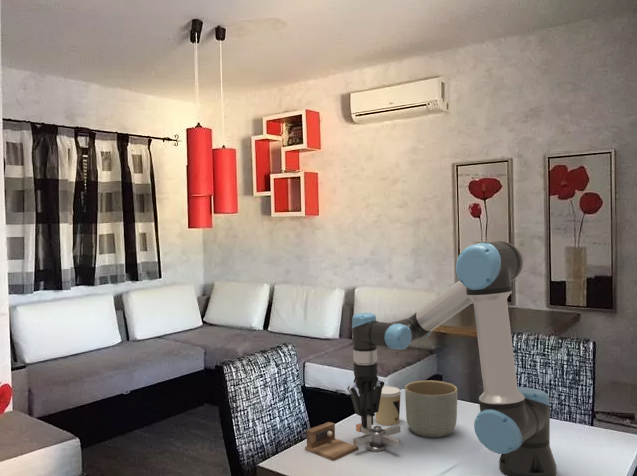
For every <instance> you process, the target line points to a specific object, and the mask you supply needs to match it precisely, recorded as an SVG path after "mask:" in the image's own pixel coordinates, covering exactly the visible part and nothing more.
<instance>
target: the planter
mask: <svg viewBox="0 0 637 476" xmlns="http://www.w3.org/2000/svg"><path fill="white" fill-rule="evenodd" d="M404 396H405V398H404V399H405V416H406V423H407V425H408V428H409V429H410V431H412V433H414V434H416V435H417V436H421V437H423V438H442V437H446V436H447V437H448V436H449V435H450V434H452V433H453V432H454V430H455V428H456V425H457V421H458V420H457V419H458V387H457V386H456V385H454V384H453V383H450V382H445V381H441V380H432V379H431V380H427V379H426V380H417V381H412V382H409V383H407V384H406V385H405V386H404Z"/></svg>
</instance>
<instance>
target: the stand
mask: <svg viewBox="0 0 637 476" xmlns="http://www.w3.org/2000/svg"><path fill="white" fill-rule="evenodd" d="M335 429H336V423H335V422H332V421H331V422H330V421H327V422H325V423H323V424H319V425H317V426H313V427H311V428H309V429H306V432H305V433H306V446H305V447H304V450H305V452H308V453H309V452H310V453H312V454H315V455H318V456H319V457H322V458H325V459H327V460H329V461H333V462H334V461H335V462H336V461H337V460H339V459H342V458H343V457H346V456H348V455H351V454H353V453H356V452H357V451H359V445H358V446H355V445H353V443H349V442H347V441H344V440H341V439H338V438H336V430H335Z"/></svg>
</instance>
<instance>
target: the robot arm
mask: <svg viewBox="0 0 637 476" xmlns="http://www.w3.org/2000/svg"><path fill="white" fill-rule="evenodd" d="M455 263H456V264H455V272H456V276H457V279H458V281H456V282H455V283H454V284H452V285H451V286H450V287H448V288H447V289H445V290H444V291H443V292H441V293H440V294H439V295H437V296H436V297H435V298H434V299H432V300H431V301H430V302H428V303H427V304H426V305H424V306H423V307H421V308H420V309H419V310H417V312H414V313H413V314H411V316H409V317H407V318H403V319H400V320H395V321H391V322H384V321H378V320H377V318H376V317H377V316H376V314H374V313H372V312H359V313H355V314H353V316H352V320H351V323H352V325H351V332H352V346H353V347H352V350H353V353H352V356H353V357H352V358H353V362H354V363H353V374H354V375H353V376H354V379H353V384H352V385H351V386H347V391H348V393H350V398H351V401H352V405H353V409H354V412H355V414H356V415H357V416H359V417H361V419H360V420H361V424H362V426H364V427H369V428H371V429H373V425H374V417H376V413H377V412H378V410H379V404H380V398H381V392H382V388H383V386H385V382H384V381H383V380H381V379H379V376H378V371H379V370H378V362H377V361H378V347H381V348H387V349H391V350H395V351H396V350H399V351H400V350H401V351H403V350H406V349H407V348H408V346H410V345H411V343H414V342H417V341H422V340H425V339H426V338H428V337H429V336H430V335H431V334H432V332H433V331H434V330H435V329H437V328H439V326H441V325H443V324H444V323H446V322H447V321H448V320H450V319H451V318H453V317H454V316H455V315H457V314H458V313H460V312H461V311H463V310H464V309H466V308H467V307H469V306H470V305H471V304H473V308H474V309H473V310H474V318H475V325H476V326H475V327H476V335H477V343H478V353H479V361H480V370H481V377H482V379H481V380H482V387H483V392H482V393H481V395H479V397H478V404H479V405H478V406H479V411H480V412H479V413H478V414H477V415H476V417H475V419H474V423H473V427H474V429H473V430H474V433H475V435H476V437H477V439H478V441H479V442H480V443H481V444H482V445H483V446H484V448H486V449H487V450H488V451H490V452H492V453H496V454H499V455H500V457H499V460H498V461H499V463H498V465H499V466H498V468H499V471H500V472H501V473H502V474H503V475H505V476H557V467H558V466H557V464H556V460H555V458H554V455H553V451H552V448H551V445H550V444H551V443H550V442H551V441H550V434H551V433H550V429H551V426H550V424H551V422H550V420H551V419H550V416H551V415H550V413H551V409H550V408H551V403H550V396H549V394H548V393H546V392H545V391H543V390H541V389H536V388H534V387H533V388H531V387H525V386H518V382H517V373H516V365H515V363H516V362H515V355H514V349H513V339H512V331H511V323H510V314H509V306H508V298H509V296H510V295H511V294H512V293H513V290H512V287H513V286H512V281H515V280H516V279H517V278H518V277H519V276H520V274H521V273H522V269H523V267H524V260H523V256H522V254H521V252H520V251H519V248H517V247H516V246H515V245H513V244H512V243H510V242H507V241H501V240H500V241H493V242H492V241H491V242H479V243H475V244H471V245H469V246H467V247H466V248H465V249H463V250H462V251H461V253H460V254H459V255H458V257H457V259H456V262H455ZM364 435H366V434H364V433H363V436H364Z"/></svg>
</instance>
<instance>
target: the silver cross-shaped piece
mask: <svg viewBox="0 0 637 476" xmlns="http://www.w3.org/2000/svg"><path fill="white" fill-rule="evenodd" d="M355 431H356V432H358V433H362V434H363V435H361V436H358V437H353V439H352V440H353V441H352V442H353V443H352V445H355V446H358V447H359V446H361V445H364V444H365V449H366V450H367V451H369V452H372V453H373V452H374V453H376V452H377V453H378V452H383V451H386V449H387V448H386V447H387V446H386V445H388V446H389V445H390V446H391V447H393V448H396V449H397V448H400V440H399V439H396V438H394V437H393V436H392V435H396V434H398V433H399V434H400V433H401V426H400V425H398V424H396V425H392V426H390V427H387V428H384V429H383V428H382V426H380V425H375V426H372V429H371V428H369V427H364V426H362V424H361V423H357V424H355ZM364 434H366V435H364Z"/></svg>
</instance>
